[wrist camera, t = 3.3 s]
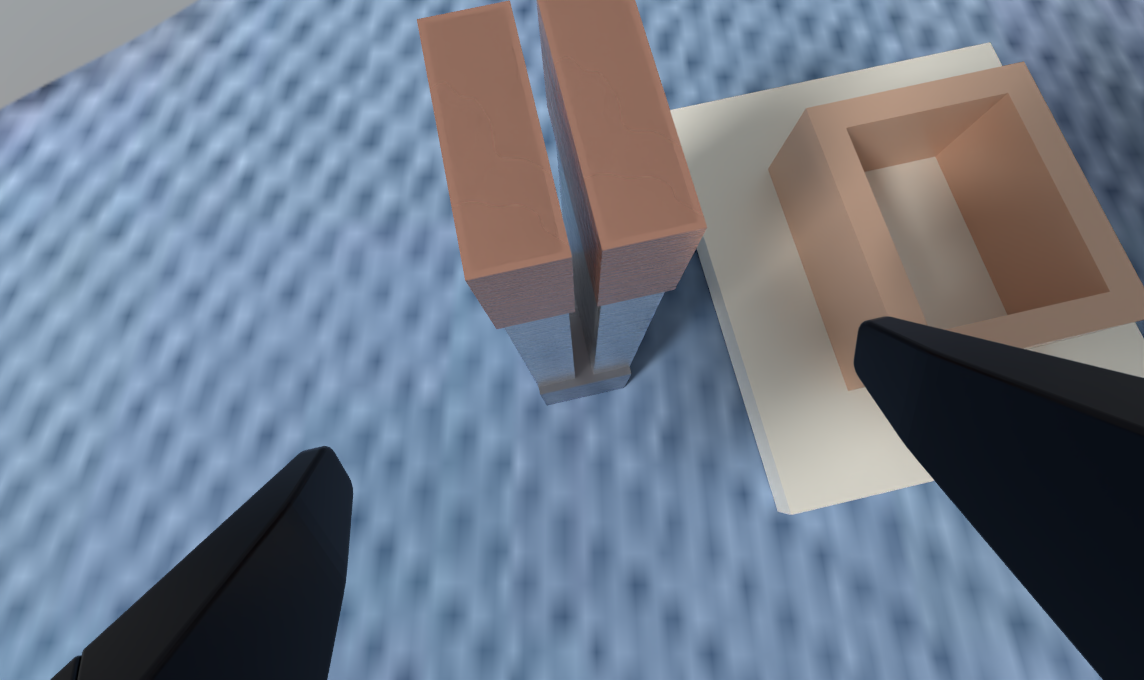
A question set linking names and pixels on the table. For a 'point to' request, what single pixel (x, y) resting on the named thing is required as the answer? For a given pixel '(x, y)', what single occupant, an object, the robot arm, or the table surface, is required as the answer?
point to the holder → (893, 248)
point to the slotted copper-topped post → (563, 184)
